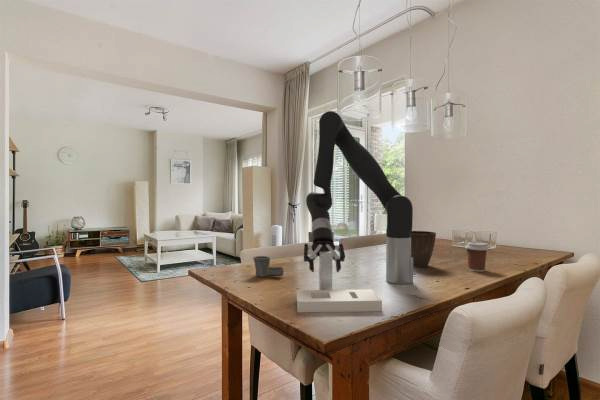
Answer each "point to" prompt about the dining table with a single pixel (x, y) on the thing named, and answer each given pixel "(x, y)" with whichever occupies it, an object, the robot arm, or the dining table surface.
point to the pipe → (266, 267)
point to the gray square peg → (325, 270)
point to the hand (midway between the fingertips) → (325, 270)
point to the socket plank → (338, 301)
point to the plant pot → (422, 247)
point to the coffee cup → (476, 256)
